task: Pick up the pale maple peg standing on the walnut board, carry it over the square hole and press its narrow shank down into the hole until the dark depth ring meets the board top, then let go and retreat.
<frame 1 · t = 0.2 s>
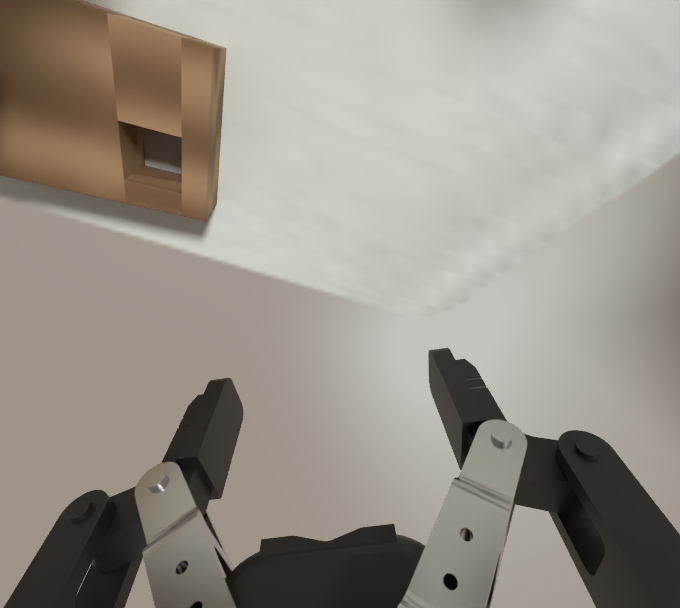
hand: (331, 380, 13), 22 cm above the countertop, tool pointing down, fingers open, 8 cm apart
board: (101, 102, 26), on the countertop
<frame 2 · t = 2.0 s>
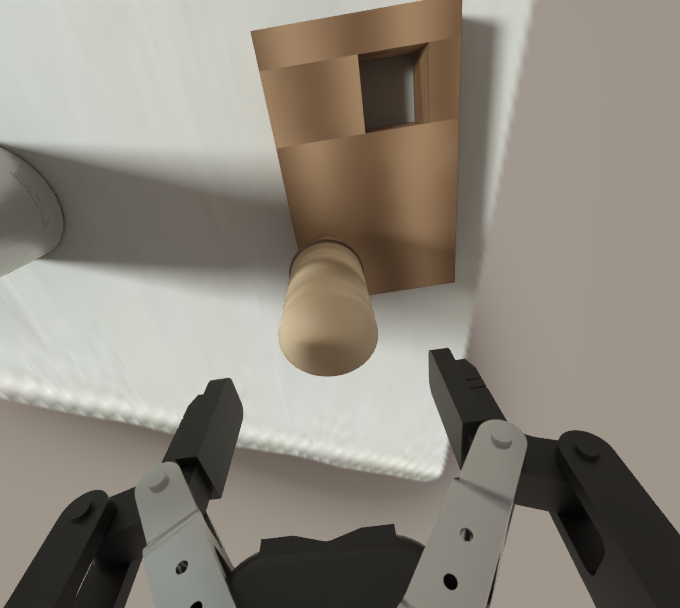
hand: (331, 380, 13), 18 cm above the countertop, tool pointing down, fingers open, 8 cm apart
peg: (326, 255, 26), point 4 cm above the countertop, touching board
board: (364, 171, 27), on the countertop
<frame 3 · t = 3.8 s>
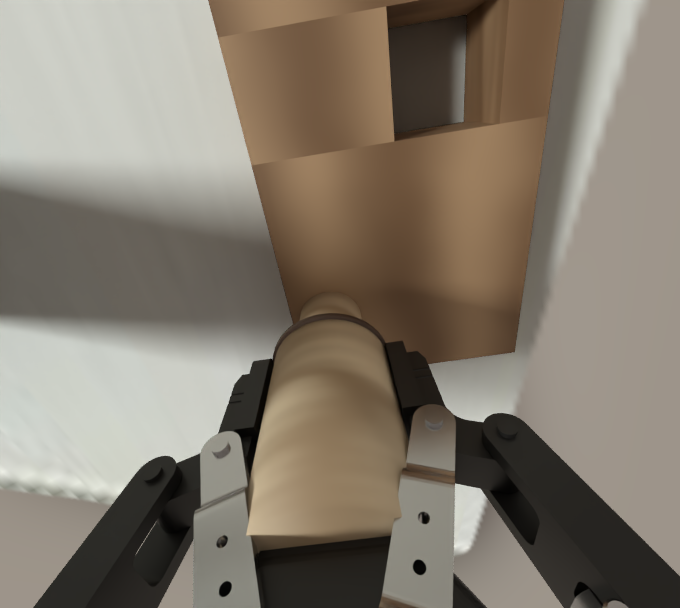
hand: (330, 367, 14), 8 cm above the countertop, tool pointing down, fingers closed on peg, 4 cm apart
peg: (330, 318, 18), point 4 cm above the countertop, touching board, gripper
board: (386, 193, 18), on the countertop
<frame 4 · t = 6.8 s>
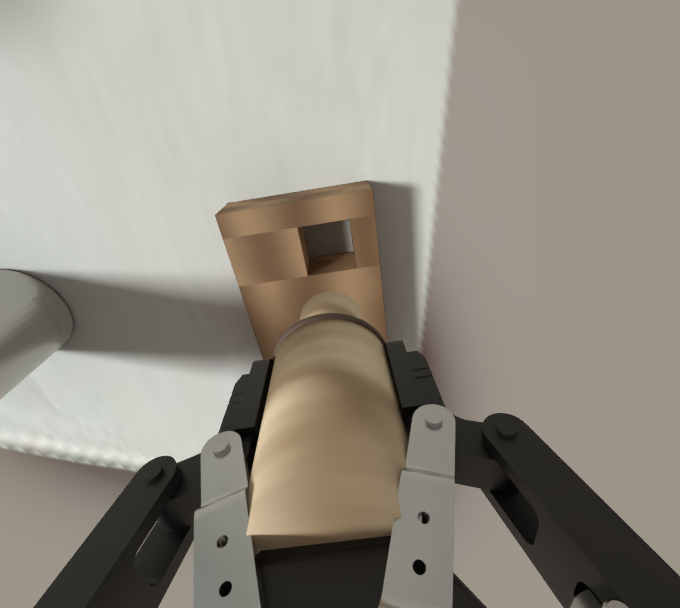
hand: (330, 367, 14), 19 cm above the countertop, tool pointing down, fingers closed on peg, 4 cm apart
peg: (330, 318, 18), point 15 cm above the countertop, touching gripper
board: (316, 285, 33), on the countertop
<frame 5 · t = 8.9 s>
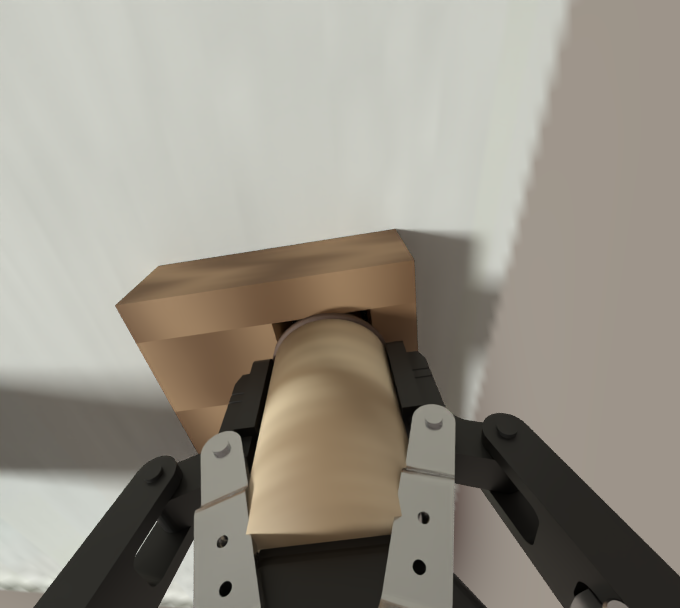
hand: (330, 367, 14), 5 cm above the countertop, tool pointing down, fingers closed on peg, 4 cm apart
peg: (330, 318, 18), point 1 cm above the countertop, touching gripper
board: (309, 382, 21), on the countertop
when the fingers open (5 cm above the countertop, at t = 10.1 s): peg stays where it is, resting on board.
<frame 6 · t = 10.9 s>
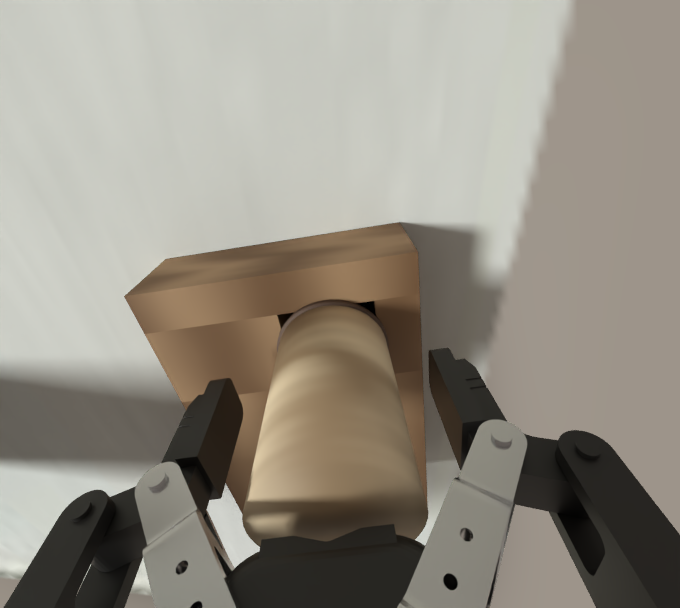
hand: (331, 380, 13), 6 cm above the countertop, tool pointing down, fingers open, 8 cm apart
peg: (332, 307, 18), resting on board
board: (314, 375, 21), on the countertop
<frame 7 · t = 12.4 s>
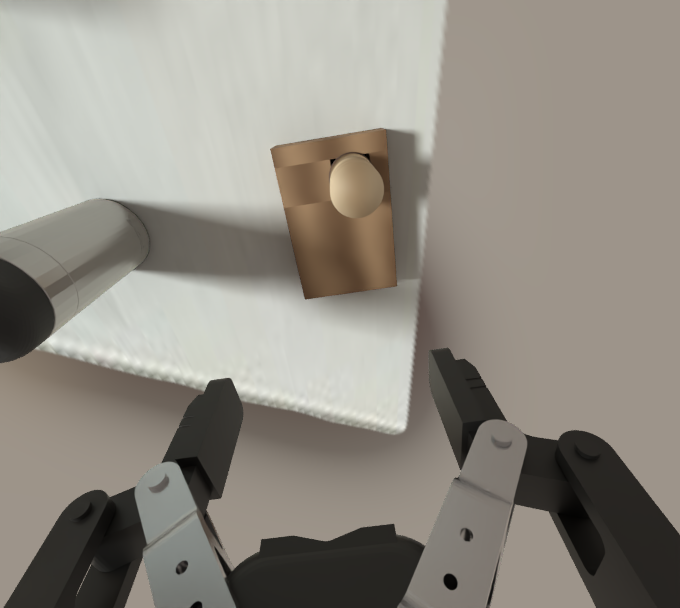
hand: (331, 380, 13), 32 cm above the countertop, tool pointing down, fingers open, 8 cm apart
peg: (350, 172, 39), resting on board
board: (339, 215, 42), on the countertop
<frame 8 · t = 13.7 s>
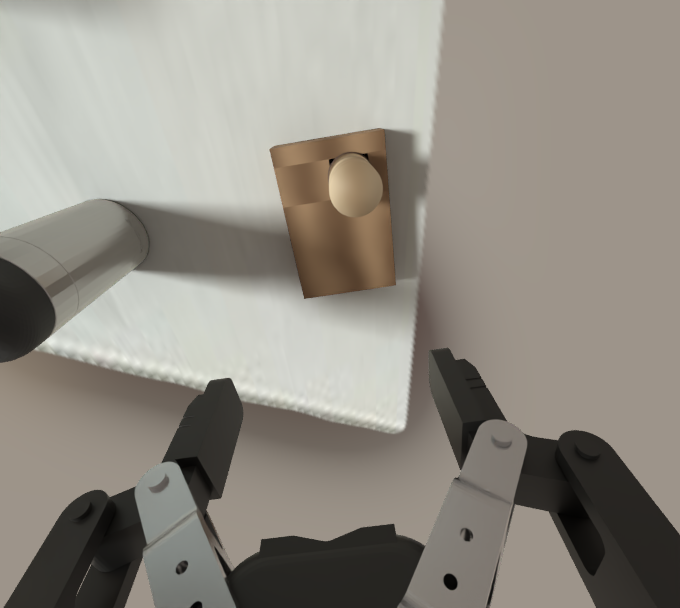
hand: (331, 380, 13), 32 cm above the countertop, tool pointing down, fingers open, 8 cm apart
peg: (348, 171, 39), resting on board
board: (338, 215, 42), on the countertop
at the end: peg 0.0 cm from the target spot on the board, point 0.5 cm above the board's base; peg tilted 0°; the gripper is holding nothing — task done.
